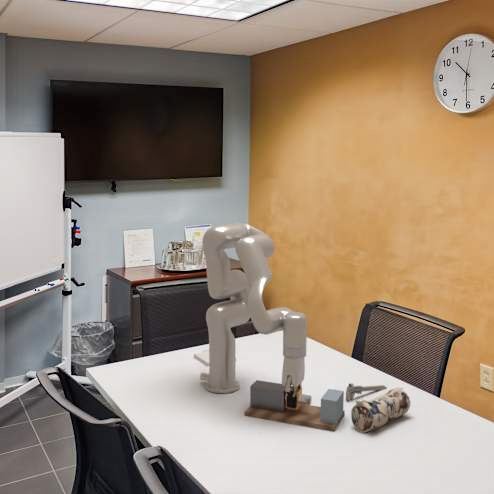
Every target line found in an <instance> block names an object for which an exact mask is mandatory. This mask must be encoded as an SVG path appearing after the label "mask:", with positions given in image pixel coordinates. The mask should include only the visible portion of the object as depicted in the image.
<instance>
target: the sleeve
mask: <svg viewBox="0 0 494 494" xmlns="http://www.w3.org/2000/svg"><path fill="white" fill-rule="evenodd" d="M249 388H250V390H249V391H250V392H249V393H250V397H249V404H250V405H249V406H250V407H251V408H257V409H263V410H269V411H275V412H280V413H284V412H285V411H286V410H287V409H288V408H286V401H285V389H286V386H285V387H283V386H282V383H277V382H272V381H265V380H260V379H259V380H258V379H257V380H256V381H254V382H253V383H252V384H251V385H250V387H249Z"/></svg>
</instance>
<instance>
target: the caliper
mask: <svg viewBox="0 0 494 494" xmlns="http://www.w3.org/2000/svg"><path fill="white" fill-rule="evenodd" d="M382 389H383V390H385V389H388V387H387V386H386V385H384V384H380V385H379V384H378V385H366V386H364V385H355V384H354V383H352V382H351V383H350V382H349V383H348V386H347V387H346V391H345V401H346V402H350V401H353V400H354V397H355V395H356V394H357V395H359V394H360V395H362V393H363V392H371V391H382Z"/></svg>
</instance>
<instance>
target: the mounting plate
mask: <svg viewBox="0 0 494 494" xmlns="http://www.w3.org/2000/svg"><path fill="white" fill-rule="evenodd" d="M193 358H195V360H197V361H199V362H200V363H201V364H203V365H205V366H206V367H207V368H208V367H209V349H203V350H202V352H198V353H194V354H193ZM235 362H237V357H236V356H235Z"/></svg>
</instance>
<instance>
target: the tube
mask: <svg viewBox="0 0 494 494" xmlns="http://www.w3.org/2000/svg"><path fill="white" fill-rule="evenodd" d="M291 390H292V391H293V389H291ZM295 396H296V408H295V409H294V408H288V407H287V406H286V408H288V409H294V410H298V409H299V408H300V407H301V405H302V404H306V405H312V399H313V398H312V395H308V394H303V387H297V388H296V395H295ZM286 399H287V396H286V392H285V401H286Z"/></svg>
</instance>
